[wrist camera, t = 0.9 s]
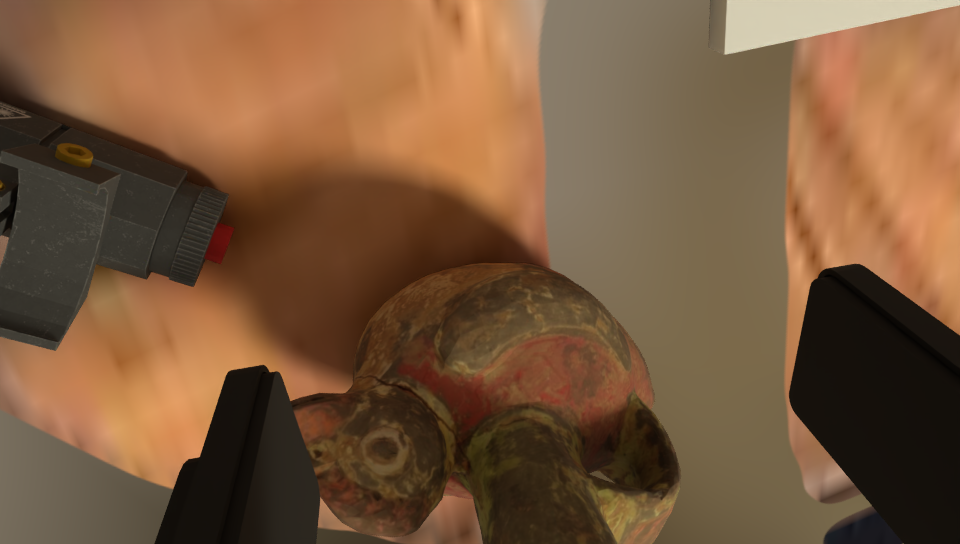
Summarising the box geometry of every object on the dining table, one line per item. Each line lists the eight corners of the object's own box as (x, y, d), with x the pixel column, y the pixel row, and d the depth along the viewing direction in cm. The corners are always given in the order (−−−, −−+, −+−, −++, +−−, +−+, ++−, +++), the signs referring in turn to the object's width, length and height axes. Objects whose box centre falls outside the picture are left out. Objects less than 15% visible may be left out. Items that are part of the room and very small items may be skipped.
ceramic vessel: (311, 171, 39) (245, 503, 17) (669, 253, 46) (928, 557, 25) (269, 381, 46) (187, 790, 25) (581, 423, 54) (722, 766, 32)
